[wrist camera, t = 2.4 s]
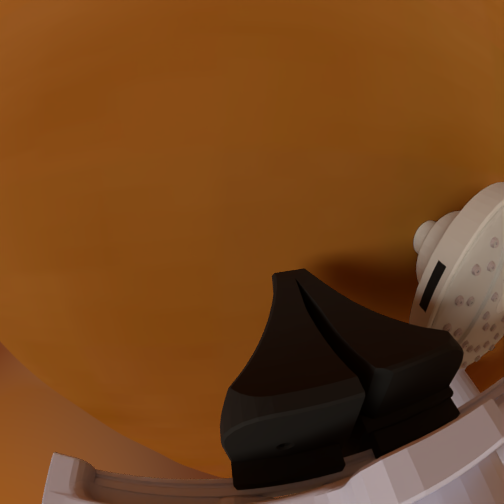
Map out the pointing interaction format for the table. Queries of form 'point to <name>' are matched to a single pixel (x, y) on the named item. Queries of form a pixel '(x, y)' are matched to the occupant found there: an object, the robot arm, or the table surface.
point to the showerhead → (463, 274)
